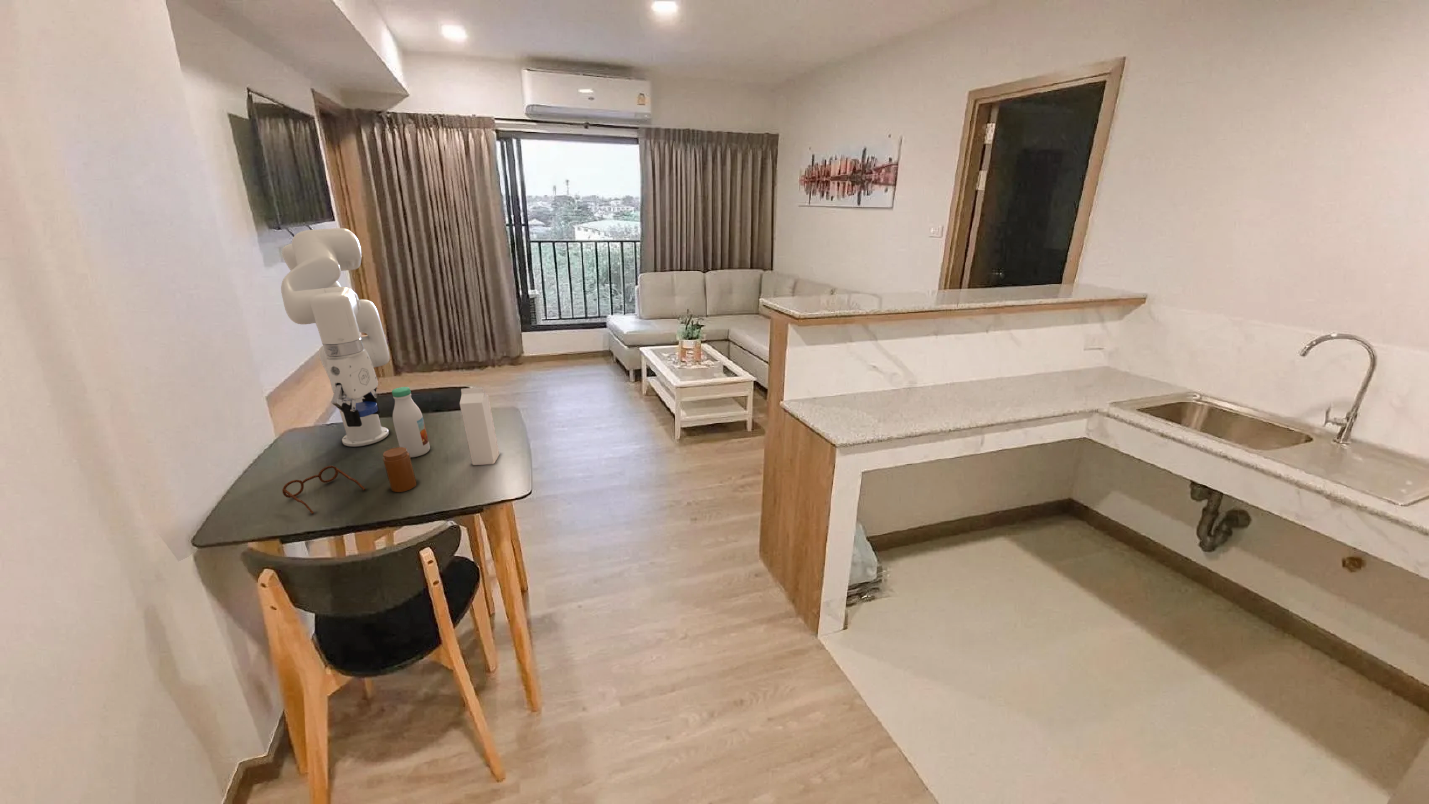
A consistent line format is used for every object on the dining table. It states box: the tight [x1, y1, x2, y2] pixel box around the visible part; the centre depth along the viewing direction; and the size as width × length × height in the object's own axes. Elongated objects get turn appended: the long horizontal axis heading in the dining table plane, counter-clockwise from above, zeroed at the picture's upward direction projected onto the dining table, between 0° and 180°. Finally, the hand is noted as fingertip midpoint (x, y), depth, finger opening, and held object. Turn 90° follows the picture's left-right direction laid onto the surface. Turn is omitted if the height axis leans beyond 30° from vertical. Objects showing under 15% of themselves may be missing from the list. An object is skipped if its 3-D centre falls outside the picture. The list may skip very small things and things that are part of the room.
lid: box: [356, 401, 379, 417], centre depth 132 cm, size 7×7×2 cm
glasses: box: [281, 465, 366, 515], centre depth 142 cm, size 13×13×5 cm
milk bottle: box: [391, 386, 431, 458], centre depth 161 cm, size 8×8×20 cm
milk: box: [459, 387, 500, 466], centre depth 155 cm, size 6×6×22 cm
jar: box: [382, 446, 418, 493], centre depth 144 cm, size 6×6×10 cm
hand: (364, 419), depth 133 cm, fingers closed on lid, 6 cm apart
